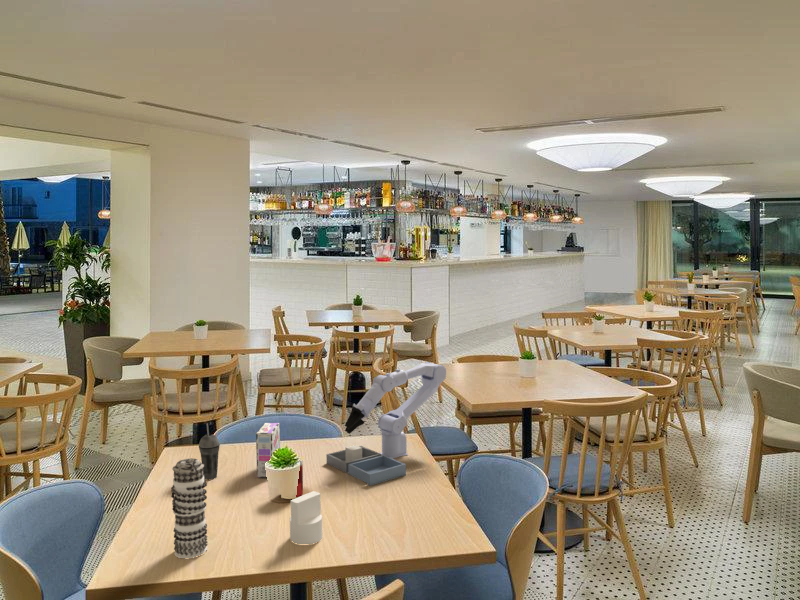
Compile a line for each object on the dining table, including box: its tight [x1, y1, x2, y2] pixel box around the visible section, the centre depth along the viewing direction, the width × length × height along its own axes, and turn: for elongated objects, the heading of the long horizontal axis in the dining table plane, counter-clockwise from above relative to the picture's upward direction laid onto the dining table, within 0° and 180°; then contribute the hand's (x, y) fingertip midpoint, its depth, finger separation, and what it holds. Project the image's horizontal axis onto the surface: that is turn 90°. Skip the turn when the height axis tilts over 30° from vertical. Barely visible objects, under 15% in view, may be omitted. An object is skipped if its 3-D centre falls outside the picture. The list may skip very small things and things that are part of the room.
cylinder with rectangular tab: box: [289, 490, 323, 545], centre depth 178 cm, size 9×9×12 cm
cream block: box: [344, 444, 362, 462], centre depth 238 cm, size 4×4×6 cm
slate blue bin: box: [347, 455, 407, 487], centre depth 227 cm, size 16×13×4 cm
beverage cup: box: [198, 422, 221, 480], centre depth 225 cm, size 7×7×20 cm
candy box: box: [255, 422, 281, 479], centre depth 231 cm, size 14×6×16 cm, turn 179°
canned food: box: [296, 459, 304, 498], centre depth 209 cm, size 8×8×11 cm
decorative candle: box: [170, 457, 208, 559], centre depth 170 cm, size 9×9×25 cm
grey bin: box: [326, 445, 381, 474], centre depth 238 cm, size 16×13×4 cm
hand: (347, 429), depth 235 cm, fingers open, 7 cm apart
